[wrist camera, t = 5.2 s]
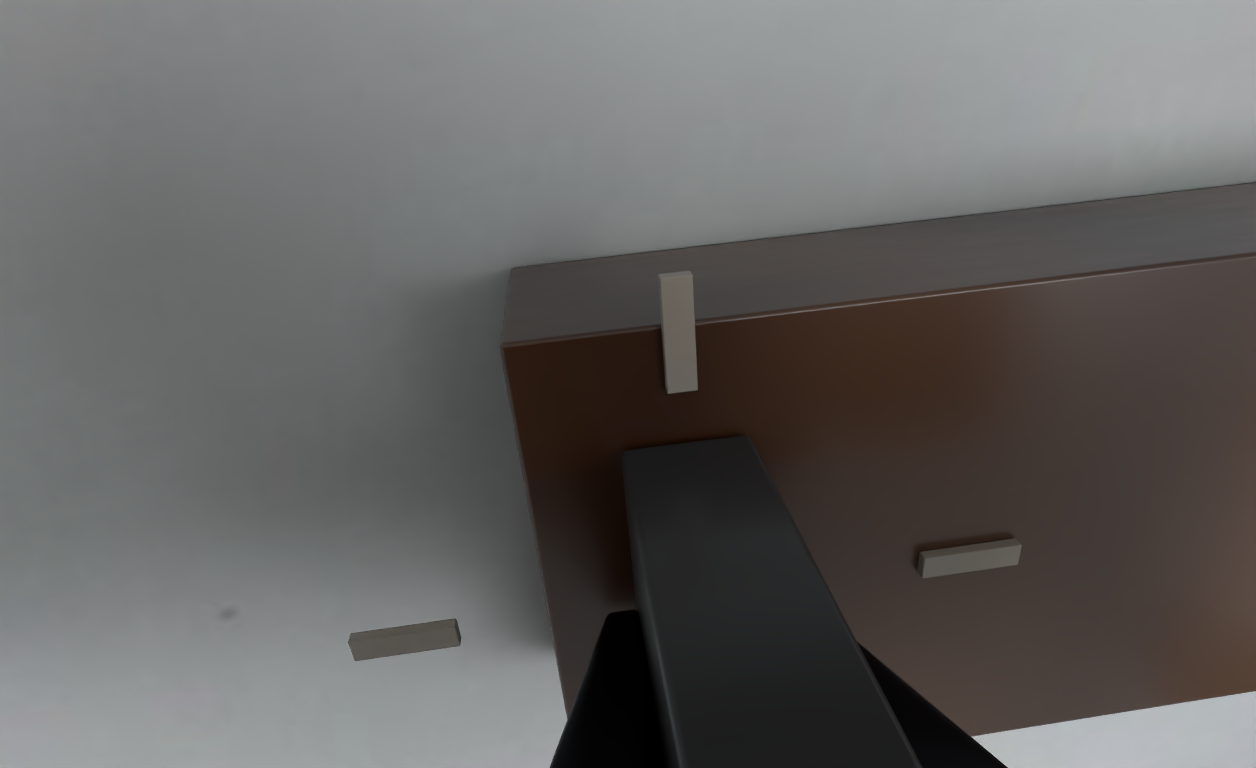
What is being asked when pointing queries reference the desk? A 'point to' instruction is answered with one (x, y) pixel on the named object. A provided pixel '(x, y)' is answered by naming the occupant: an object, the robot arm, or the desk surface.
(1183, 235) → the panel
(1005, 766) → the robot arm
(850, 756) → the black box red panel
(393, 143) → the desk surface
